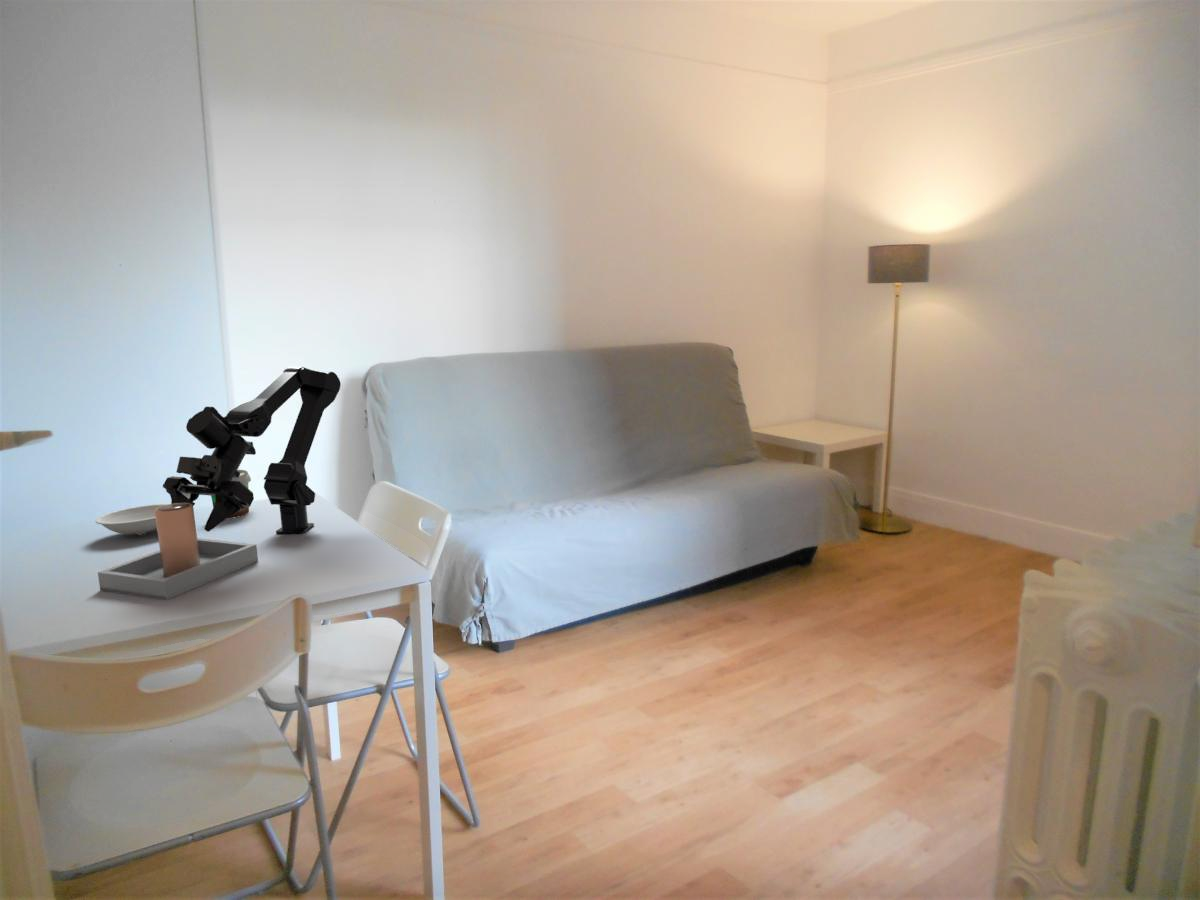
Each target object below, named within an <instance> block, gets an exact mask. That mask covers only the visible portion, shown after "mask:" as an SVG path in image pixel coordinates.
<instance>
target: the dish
mask: <svg viewBox="0 0 1200 900" xmlns="http://www.w3.org/2000/svg"><path fill="white" fill-rule="evenodd" d="M168 504H169V503H157V504H156V503H155V504H146V505H139V506H134V507H133V506H131V507H128V508H124V509H118V510H115V511H111V512H108V513H105V514H103V515H100V516H98V517H97V518H95V523H96V524H98V525H101V526H103V527H104V528H105V529H107V530H109V531H112V532H115V533H118V534H123V535H127V534H128V535H134V534H137V535H138V536H143V535H142V534H144V535H146V534H147V532H152V531H153V530H154V531H155V530H157V524H156V517H155V509H156V508H157V507H160V506H164V505H168Z"/></svg>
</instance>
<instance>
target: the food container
mask: <svg viewBox="0 0 1200 900" xmlns="http://www.w3.org/2000/svg"><path fill="white" fill-rule="evenodd" d="M237 471H238V472H239V473H240V475H239V477H238V478H235V477H233V479H232V481H240V482H241V483H242V484H243V485H244V486H246V487H247V488H248V489H249V483H250V482H251V481H252V479H251V478H252V477H251V475H250V473H249V472H248V471H247V470H245V469H237ZM210 497H211V502H212V506H213V507H214V505H215V503H216V500H215V496H210ZM213 507H212V508H213ZM248 512H250V507H245V506H244V509H243V510H239V511H237V512H236V513H234V514H233V515H231V516H230V517H228V518H229V519H234V518H233V517H236V518H239V517H238V516H240V517H243V516H245V515H244V514H246V513H248ZM248 514H249V513H248ZM242 515H243V516H242ZM246 515H247V514H246Z"/></svg>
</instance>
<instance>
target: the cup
mask: <svg viewBox="0 0 1200 900" xmlns="http://www.w3.org/2000/svg"><path fill="white" fill-rule="evenodd" d="M167 504H168V505H164V506H160V507H157V508H156V509H155V517H156V524H157V529H156V531H157V537H158V544H159V550H160V553H161V561H162V568H163V575H164V576H165V577H170V576H172V575H175V574H177V573H180V572H182V571H185V570H187V569H190V568H192V567H195V566H197V565H200V556H199V548H198V540H197V538H198V534H197V527H196V526H197V525H196V519H195V511H194V509H195V508H194V506H193V504H191V503H175V504H171V503H167Z"/></svg>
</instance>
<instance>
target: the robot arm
mask: <svg viewBox="0 0 1200 900" xmlns="http://www.w3.org/2000/svg"><path fill="white" fill-rule="evenodd" d="M340 389H341V380H340V378H339V376H338V374H337V373H335V372H334V371H318V370H314V369H309V368H307V367H304V366H288V367H287V368H286V367H285V368H284V370H283V373H281V375H279V376H278V377H277V378H276V379H274V381H273V382H272V383H270V384H269V385H267V387H266V388H264V390H263V391H261V392H260V393H259V394H258V395H257V396H256V397H254V398H253V399H252V400H250V401H247V402H244V403H241V404H239V405H237V406H235V407H234V408H232V409H231V410H229V411H228V412H227V414H226V415H225V416H222V414H221V413H219V411H218V410H217V408H215V407H214V406H205V407H204V408H203V410H200V411H199V412H197V413H195V414H194V415H193V416H192V417H190V418H189V419H188V421H187V423H186V429H185V430H186V432H188V433H189V434H190V435H191V436H192V437H194V438H195V439H196V440H197V441H199V442H200V443H201V444H202V445H203V446H204V447H205V448H207V449H208V450H212V449H213V451H212V453H211V455H210V454H204V455H203V456H202V458H201V457H194V456H193V457H192V456H179V459H178V464H177V467H176V473H177V474H184V475H189V476H190V477H189V479H191V480H192V481H193V482H195V483H196V484H194V483H193V482H192V481H190V480H189V479H188V478H186V477H184V476H169V477H168V476H167V478H166V479H165V481H164V483H163V485H162V488H163V489H165V492H166V493H168V494H169V496H170V499H171V501H170V502H171V503H170V504H175V503H191V504H193V507H194V506H195V504H196V503H195V501H196V500H198V499H199V496H200V495H201V496H210V497H211V496H215V500H216V503H215V505H214V507H212V510H211V512H210V514H209V517H208V519H207V521H206V522H205V525H204V530H205V532H211V530H213V529H215V528H216V527H217V526H219V525H220V524H221V523H223V522H224V521H226V520H228V519H227V518H228V517H230V516H231V515H233V514H234V513H236V512H237V511H239V510H243V509H244V506H245V507H249V508H250V507H251V506H252V503H253V502H254V500H255V499H254V493H253V491H252V490H251V489H250V488H249V487H248V488H247V487H246V486H244V485H243V484H242V483H241V482H240V481H232V479H233V477H235V478H238V477H239V475H240V473H239V472H238V471H237V470H239V467H240V465H241V464H242V462H243V460H244V458H245V456H246V455H253V456H255V455H256V454H257V453H256V452H257V451H256V449H255V447H254V443H253V441H247V440H246V439H245V438H243V437H248V438H249V437H251V438H259V437H260V436H262V435H263V434H264V433H265V432H266V431H267V429H268V427H269V426H270V425H271V423H272V417H273V415H274V413H275V412H276V411H277V410H278V409H279V408H281V407H282V406H283V404H285V403H286V402H287V401H288V400H289V399H290V398H291V397H292V396H293V395H294V394H295V393H296V392H297V391H298V390H299V395H300V398H301V407H300V410H299V411H298V415H297V417H296V420H295V423H294V426H293V428H292V431H291V434H290V437H289V440H288V443H287V446H286V448H285V451H284V454H283V457H282V458H281V459H280V460H279V461H278V462H271V463H270V464H269V465H268V469H267V472H266V475H265V476H264V478H263V480H264V484H263V489H264V491H265V494H266V496H267V498H268V501H269V503H270V505H272V506H274V505H278V507H279V514H280V523H281V524H280V525H281V527H279V529H277V530H275V533H276V534H304V533H306V532H307V531H309V530H310V529H311V528H312V527H314V526H315V523H314V522H309V520H308V510H307V508H308V506H311V505H312V504H313V503H314V502H315V498H316V492H315V491H314V490H312V489H311V488H310V487H309V486H308V485H307V480H308V475H307V472H306V466H305V465H306V462H307V459H308V457H309V454H310V451H311V448H312V444H313V442H314V439H315V436H316V434H317V431H318V427H319V425H320V423H321V420H322V416H323V414H324V411H325V410H326V409H327V408H328V407H329V406H330V405H331V404H332V403H333V402H335V400H336V398H337V396H338V394H339V391H340Z"/></svg>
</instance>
